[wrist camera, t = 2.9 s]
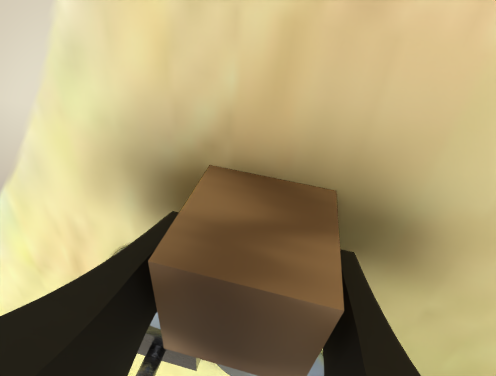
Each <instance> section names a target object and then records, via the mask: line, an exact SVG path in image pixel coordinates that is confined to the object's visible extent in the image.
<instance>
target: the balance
mask: <svg viewBox="0 0 496 376" xmlns="http://www.w3.org/2000/svg"><path fill="white" fill-rule="evenodd" d="M137 353H138V354H141V355H144V356H145V358H144V360H143V362H142V364H141V366H140V368H139V370H138V372H137V374H136V376H155V375H156V372H157V370H158V368H159V365H160V363H161V361H165V362H168V363H171V364H175V365H178V366H182V367H185V368H188V369H192V370H195V371H197V368H198V365H199V362H200V359H199V358H196V357H192V356H189V355H185V354H182V353H178V352H175V351H171V350H168V349H165V348H164V345H163V339H162V334H161V329H158V328H155V327H153V326H151V325H150V326H149V328H148V330H147V332H146V334H145V336H144V338H143V341H142V343H141V345H140V348H139V350H138V352H137Z"/></svg>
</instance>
